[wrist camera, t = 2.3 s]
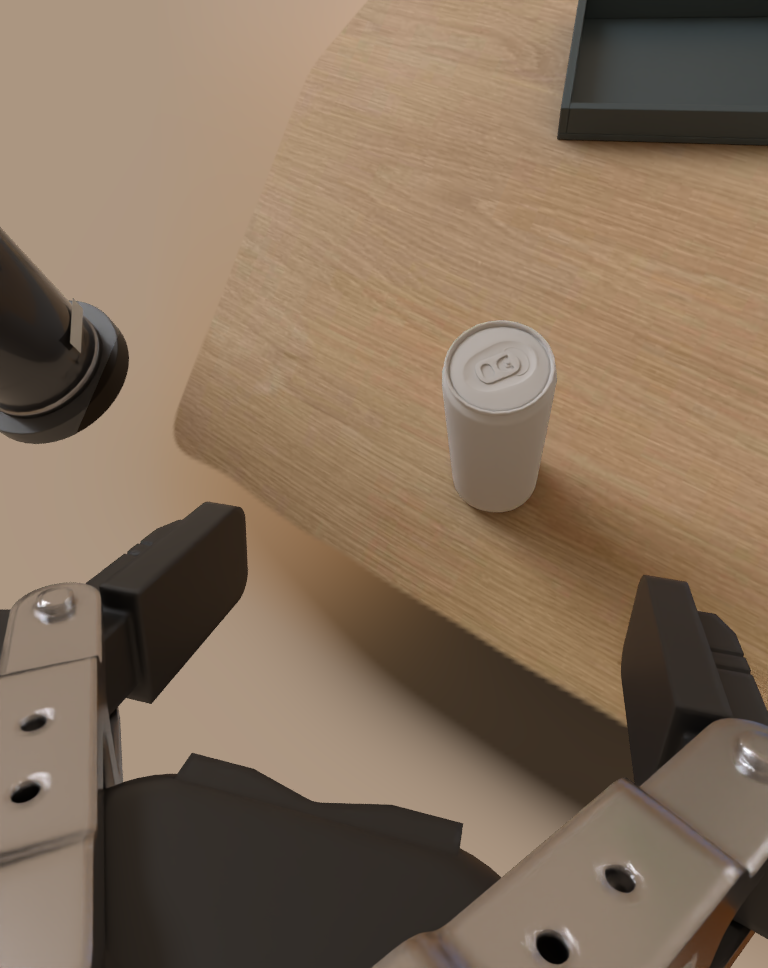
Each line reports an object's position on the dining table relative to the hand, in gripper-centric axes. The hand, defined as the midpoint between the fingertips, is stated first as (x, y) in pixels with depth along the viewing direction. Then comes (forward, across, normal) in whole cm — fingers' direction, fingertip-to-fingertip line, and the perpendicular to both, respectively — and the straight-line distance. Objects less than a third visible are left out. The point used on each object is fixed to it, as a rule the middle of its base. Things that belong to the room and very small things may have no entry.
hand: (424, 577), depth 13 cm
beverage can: (+24, 0, +8) cm, 25 cm away
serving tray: (+48, -9, -17) cm, 52 cm away
